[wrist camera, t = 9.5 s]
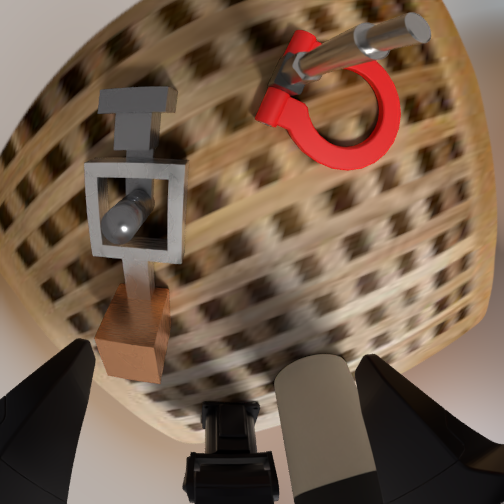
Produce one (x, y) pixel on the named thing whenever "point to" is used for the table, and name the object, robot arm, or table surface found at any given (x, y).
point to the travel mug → (325, 433)
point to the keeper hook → (134, 151)
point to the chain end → (137, 269)
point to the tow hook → (331, 59)
